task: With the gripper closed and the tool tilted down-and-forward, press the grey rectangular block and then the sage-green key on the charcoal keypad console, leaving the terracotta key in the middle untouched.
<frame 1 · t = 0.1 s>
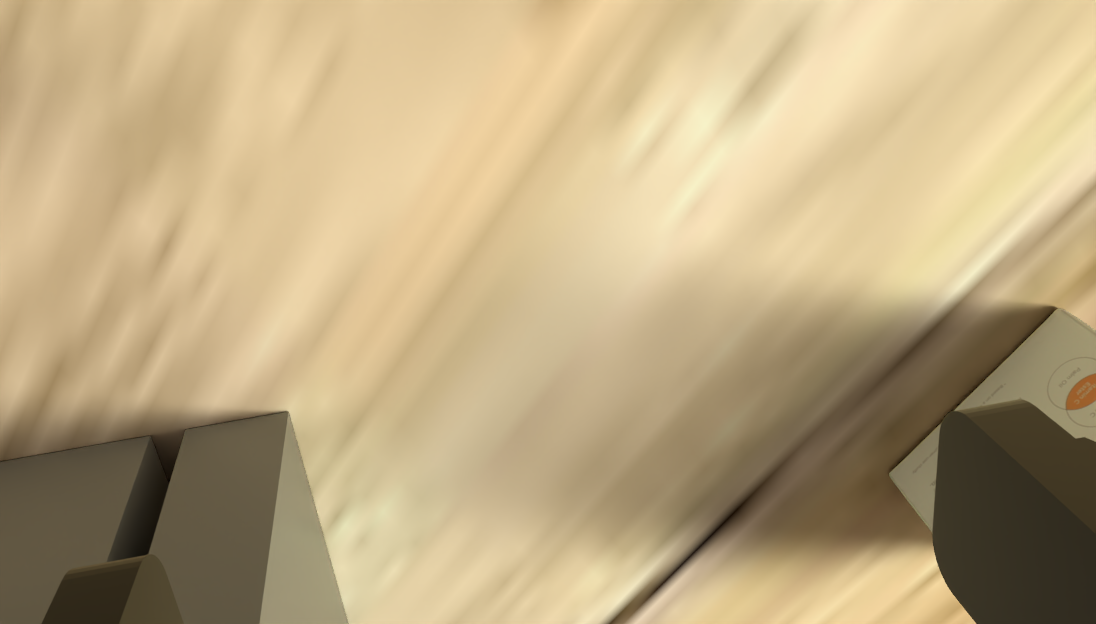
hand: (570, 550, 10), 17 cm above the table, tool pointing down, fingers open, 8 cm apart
small box: (1018, 428, 34), on the table
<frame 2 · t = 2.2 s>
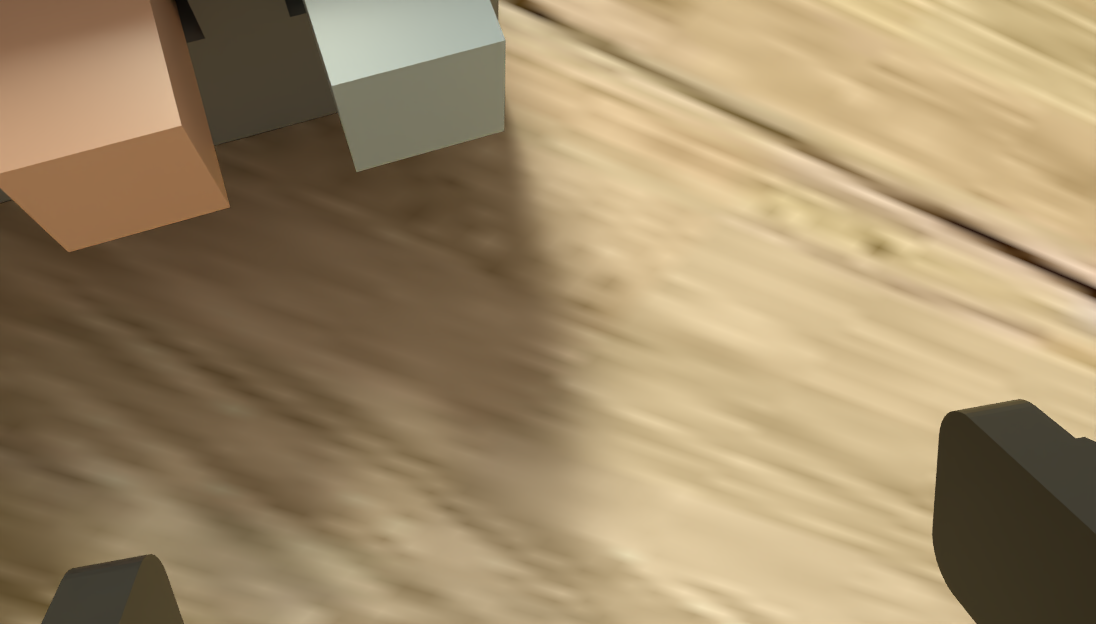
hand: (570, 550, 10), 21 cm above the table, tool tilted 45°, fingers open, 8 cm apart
terracotta key: (91, 63, 26), point 8 cm above the table, slide at 0.0 cm
keypad console: (175, 155, 34), on the table
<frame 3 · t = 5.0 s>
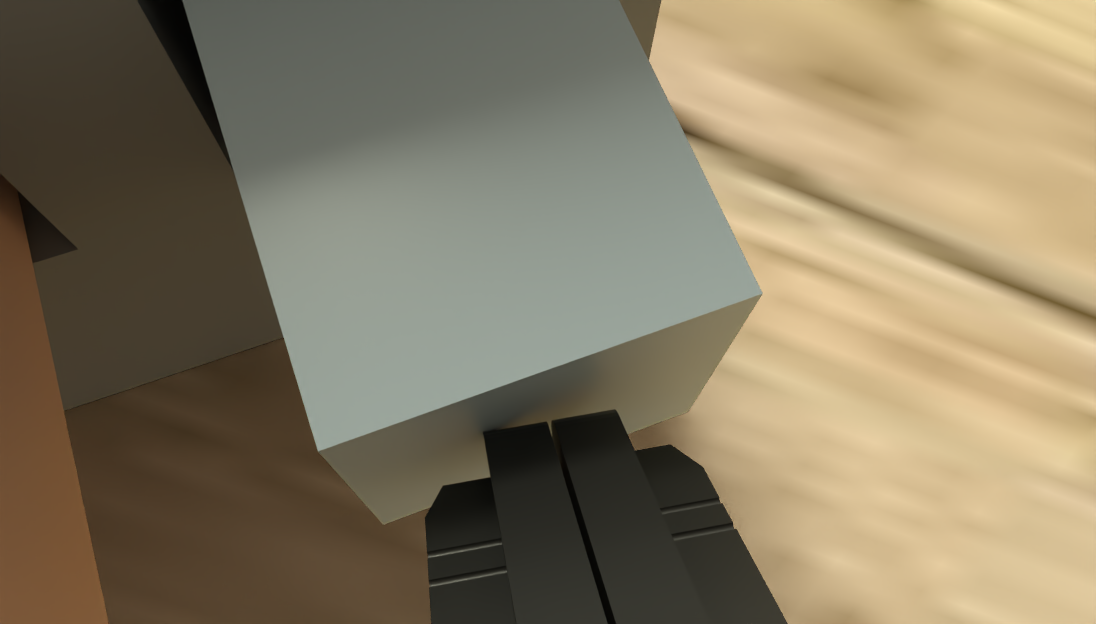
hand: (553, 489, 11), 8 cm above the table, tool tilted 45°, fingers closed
keypad console: (66, 410, 20), on the table
grey rectangular block: (432, 139, 12), point 8 cm above the table, slide at 0.4 cm, touching gripper
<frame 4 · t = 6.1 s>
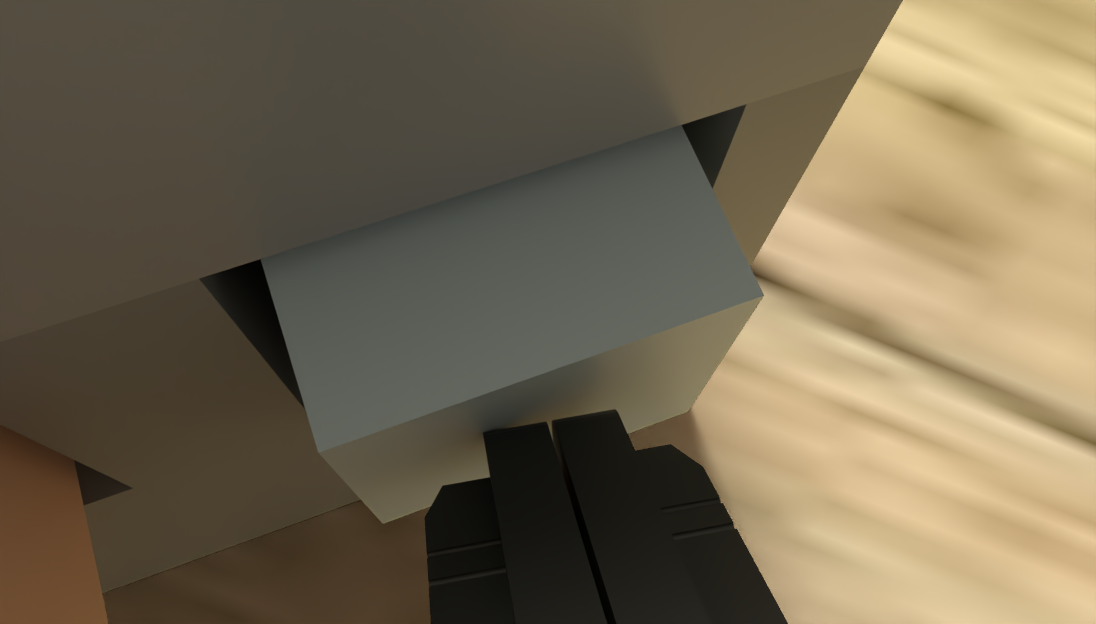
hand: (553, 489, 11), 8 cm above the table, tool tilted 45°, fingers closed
keypad console: (105, 592, 18), on the table
grey rectangular block: (432, 138, 12), point 9 cm above the table, slide at 4.3 cm, touching gripper
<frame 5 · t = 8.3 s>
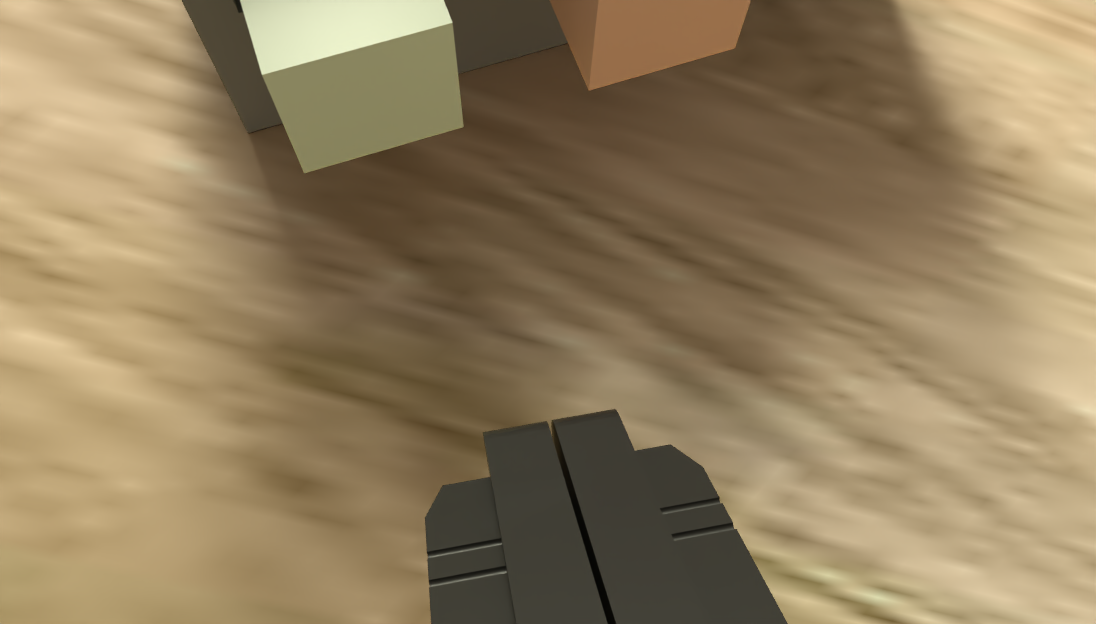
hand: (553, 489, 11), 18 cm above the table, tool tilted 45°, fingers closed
keypad console: (576, 40, 35), on the table
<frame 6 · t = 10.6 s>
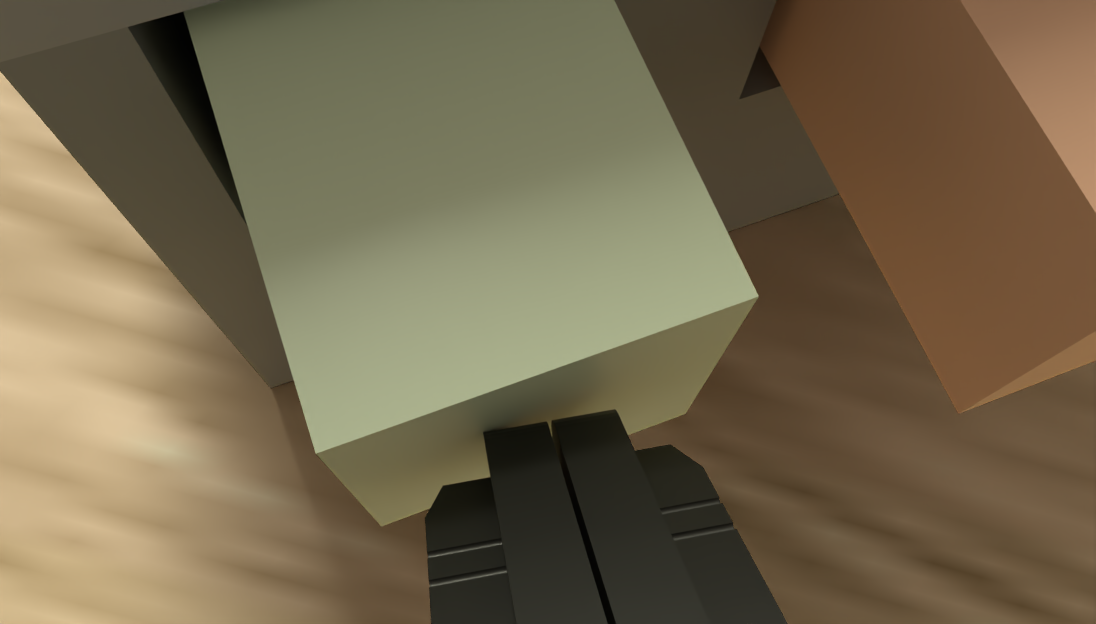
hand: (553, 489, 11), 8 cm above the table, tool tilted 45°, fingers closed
terracotta key: (1023, 48, 13), point 8 cm above the table, slide at 0.0 cm
keypad console: (793, 209, 22), on the table
sage key: (430, 142, 12), point 9 cm above the table, slide at 1.3 cm, touching gripper
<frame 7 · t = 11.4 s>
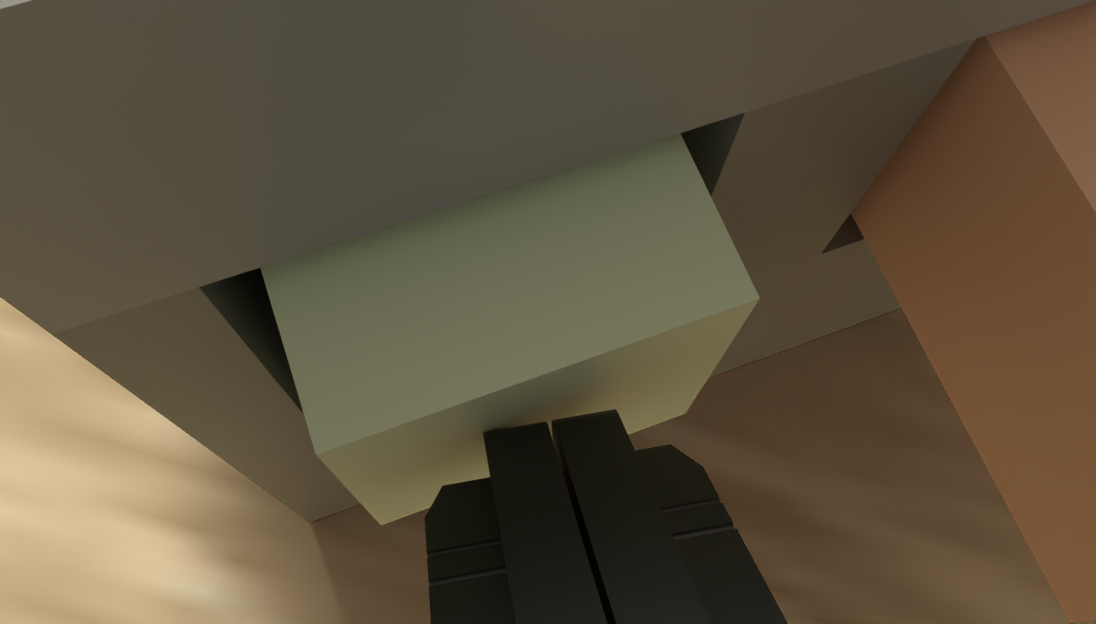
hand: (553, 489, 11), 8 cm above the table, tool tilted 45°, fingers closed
keypad console: (853, 325, 21), on the table
sage key: (430, 141, 12), point 9 cm above the table, slide at 4.3 cm, touching gripper
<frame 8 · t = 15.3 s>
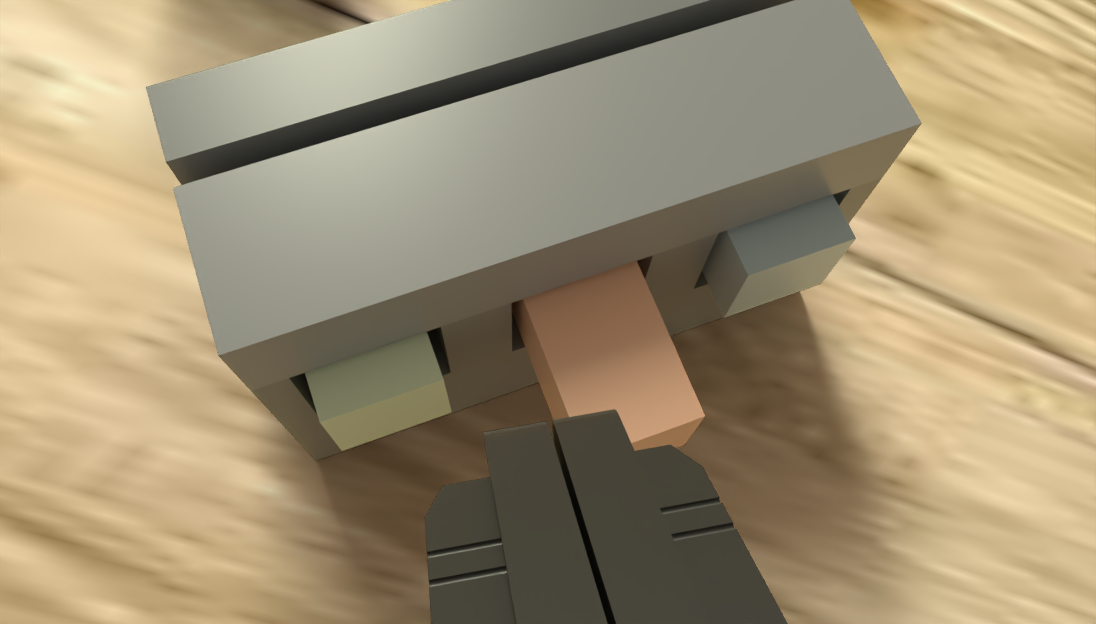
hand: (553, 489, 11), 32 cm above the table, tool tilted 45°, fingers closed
terracotta key: (597, 353, 36), point 8 cm above the table, slide at 0.0 cm
keypad console: (567, 372, 45), on the table
sage key: (358, 319, 36), point 9 cm above the table, slide at 4.3 cm
grey rectangular block: (743, 193, 39), point 8 cm above the table, slide at 4.3 cm
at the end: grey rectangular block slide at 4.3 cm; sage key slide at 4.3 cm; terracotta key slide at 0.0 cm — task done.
